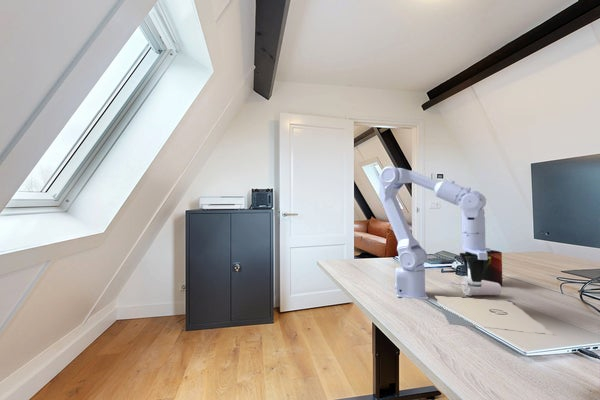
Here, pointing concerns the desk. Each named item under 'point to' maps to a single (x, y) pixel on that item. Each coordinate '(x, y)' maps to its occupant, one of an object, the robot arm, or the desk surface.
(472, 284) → the marker
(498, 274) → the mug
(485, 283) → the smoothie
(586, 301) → the desk surface
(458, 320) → the desk mat
